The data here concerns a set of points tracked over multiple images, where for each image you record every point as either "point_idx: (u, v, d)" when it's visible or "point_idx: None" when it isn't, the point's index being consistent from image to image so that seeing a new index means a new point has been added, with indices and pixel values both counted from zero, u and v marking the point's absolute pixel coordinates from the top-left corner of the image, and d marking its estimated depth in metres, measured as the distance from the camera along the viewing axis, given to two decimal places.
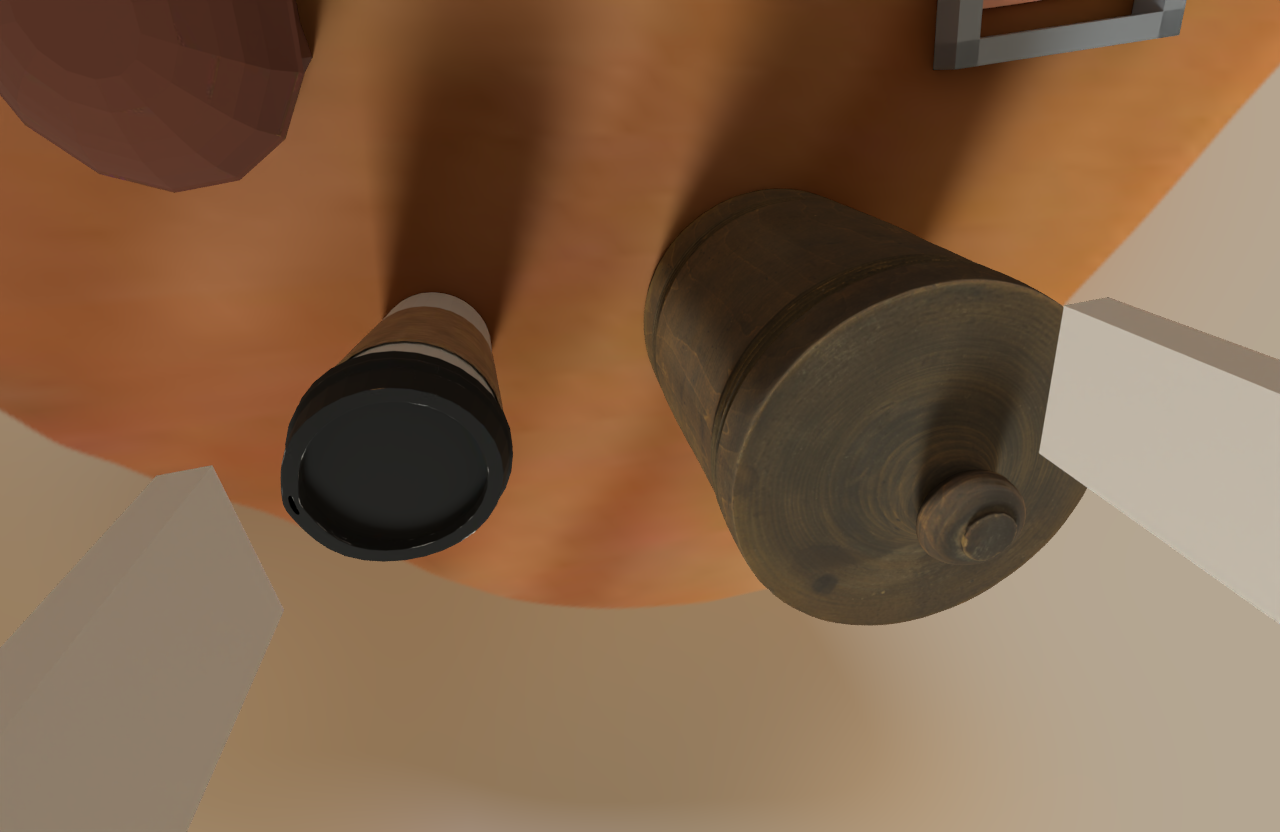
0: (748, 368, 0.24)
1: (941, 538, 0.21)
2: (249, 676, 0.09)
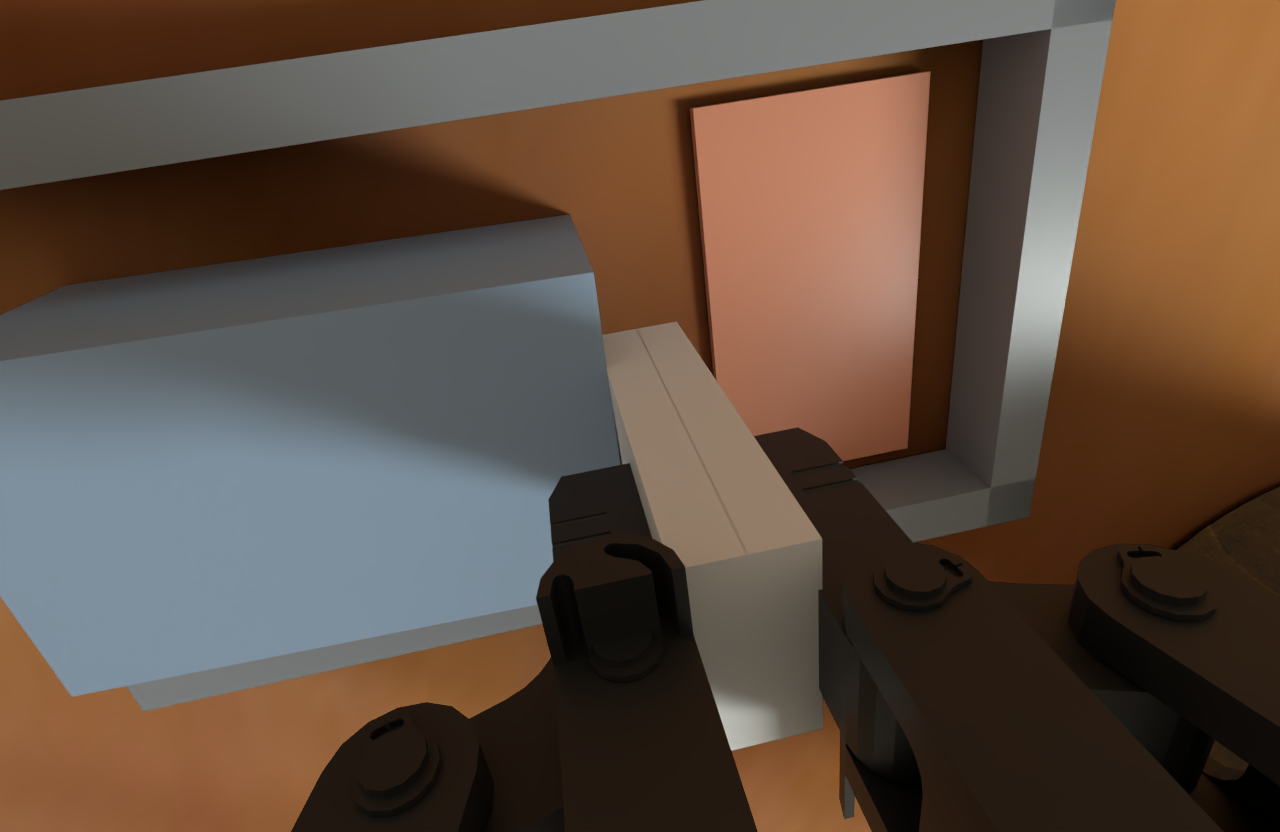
0: None
1: None
2: None
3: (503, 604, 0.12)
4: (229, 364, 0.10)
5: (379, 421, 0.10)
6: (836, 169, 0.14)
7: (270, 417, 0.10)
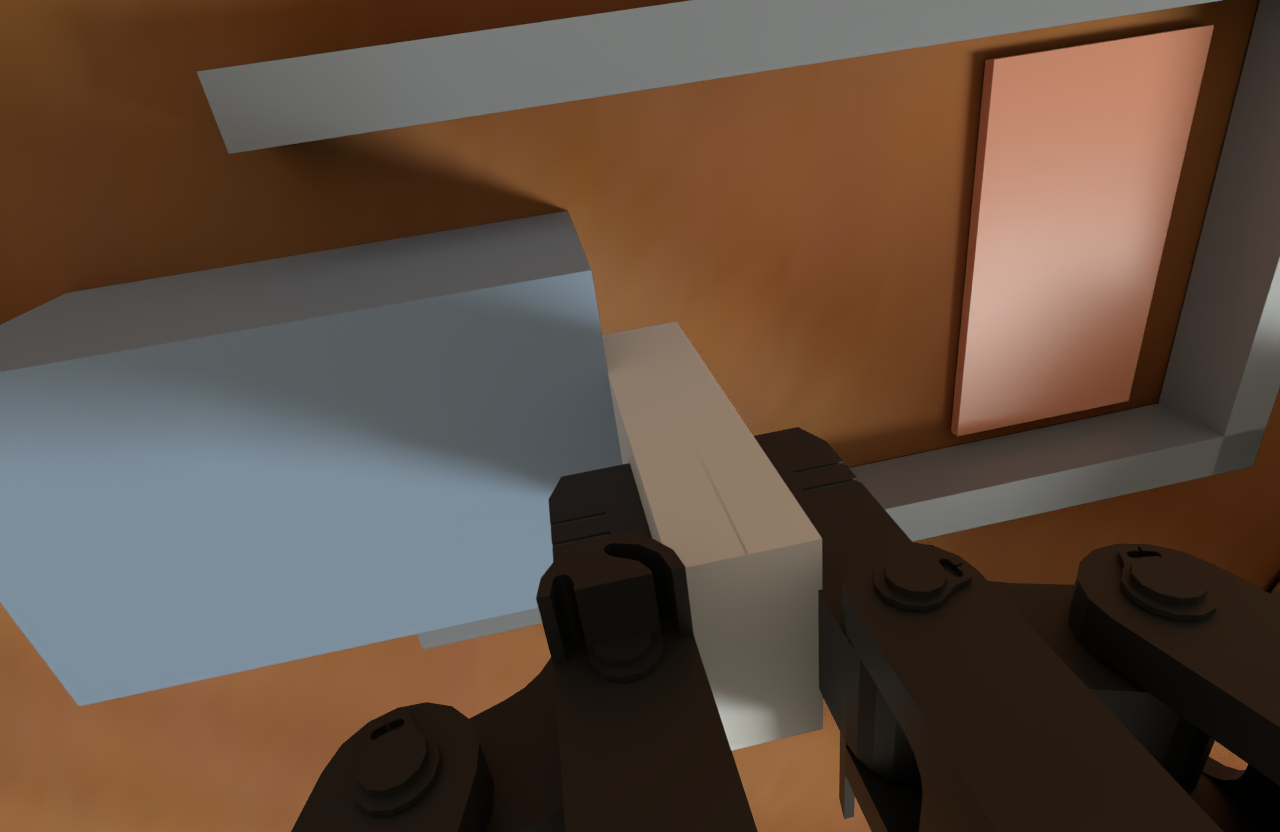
0: None
1: None
2: None
3: (508, 607, 0.12)
4: (226, 372, 0.10)
5: (377, 425, 0.10)
6: (1112, 121, 0.15)
7: (268, 422, 0.10)
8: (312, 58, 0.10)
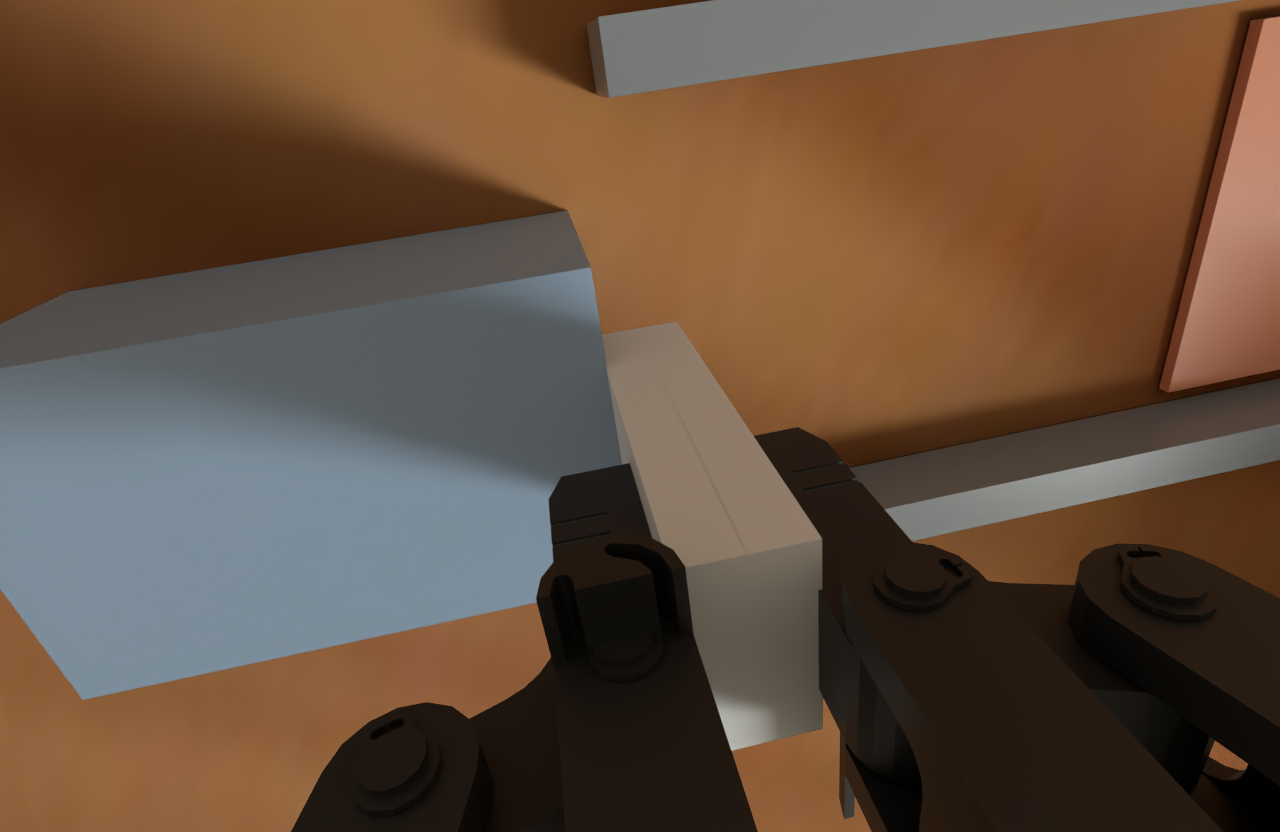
0: None
1: None
2: None
3: (508, 601, 0.12)
4: (230, 368, 0.10)
5: (379, 420, 0.10)
6: None
7: (271, 418, 0.10)
8: (702, 5, 0.11)
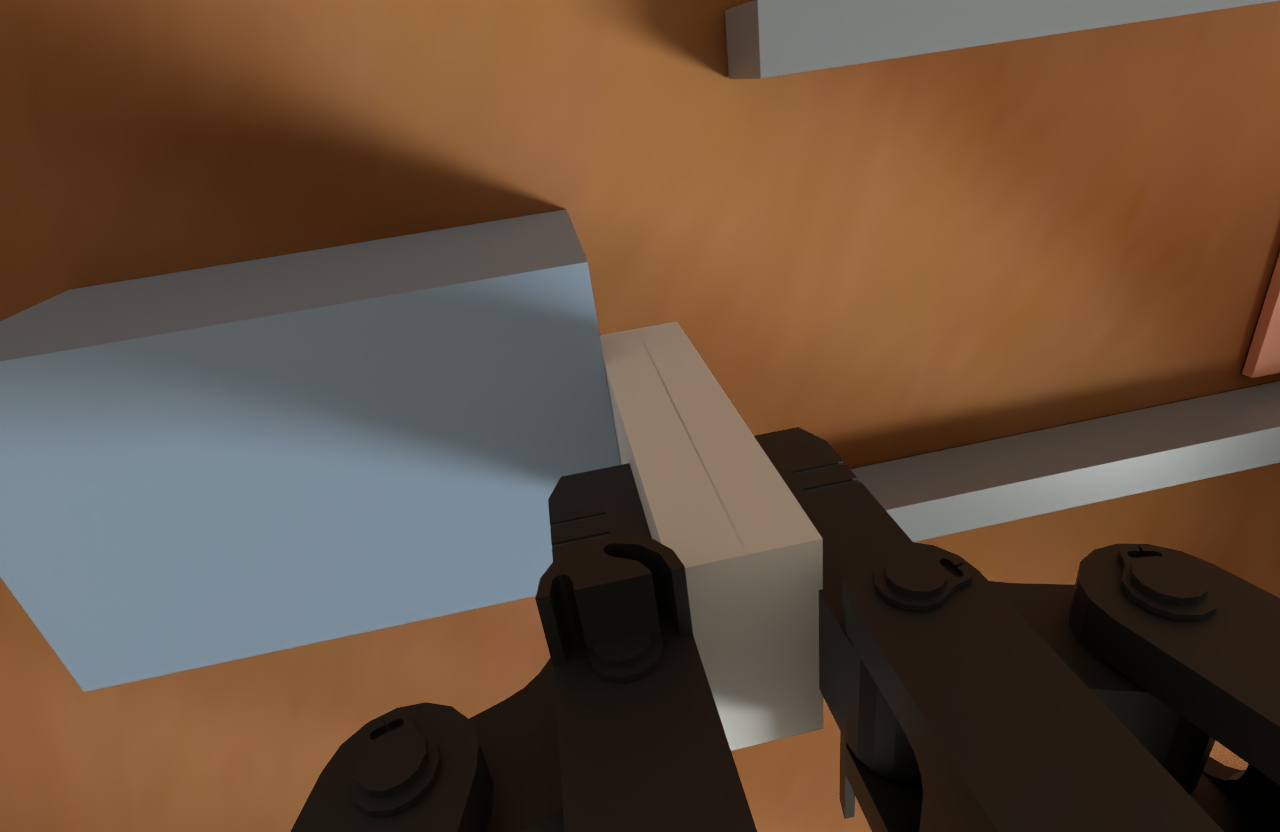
0: None
1: None
2: None
3: (505, 595, 0.12)
4: (231, 360, 0.10)
5: (378, 414, 0.11)
6: None
7: (272, 410, 0.10)
8: None
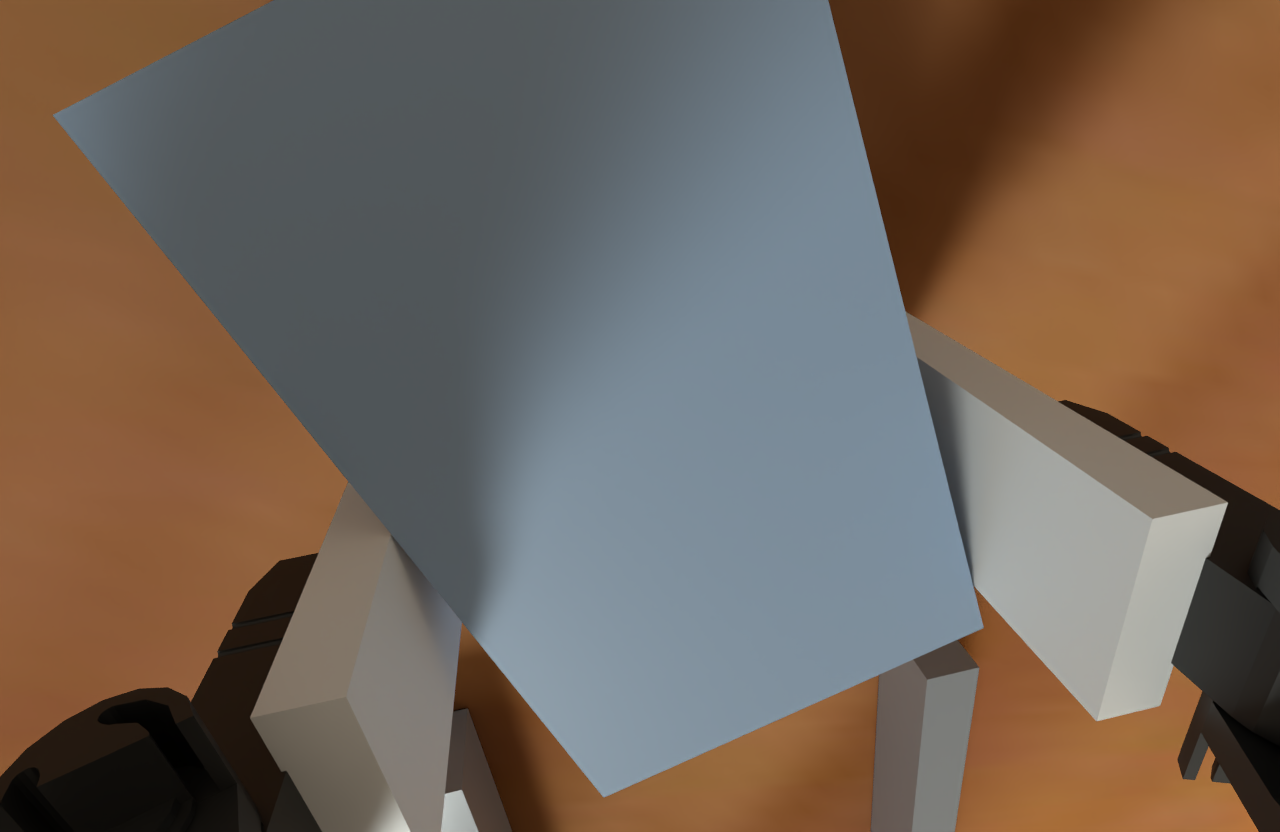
0: None
1: None
2: None
3: (532, 691, 0.09)
4: (855, 323, 0.07)
5: (794, 495, 0.08)
6: None
7: (785, 379, 0.07)
8: (970, 723, 0.15)
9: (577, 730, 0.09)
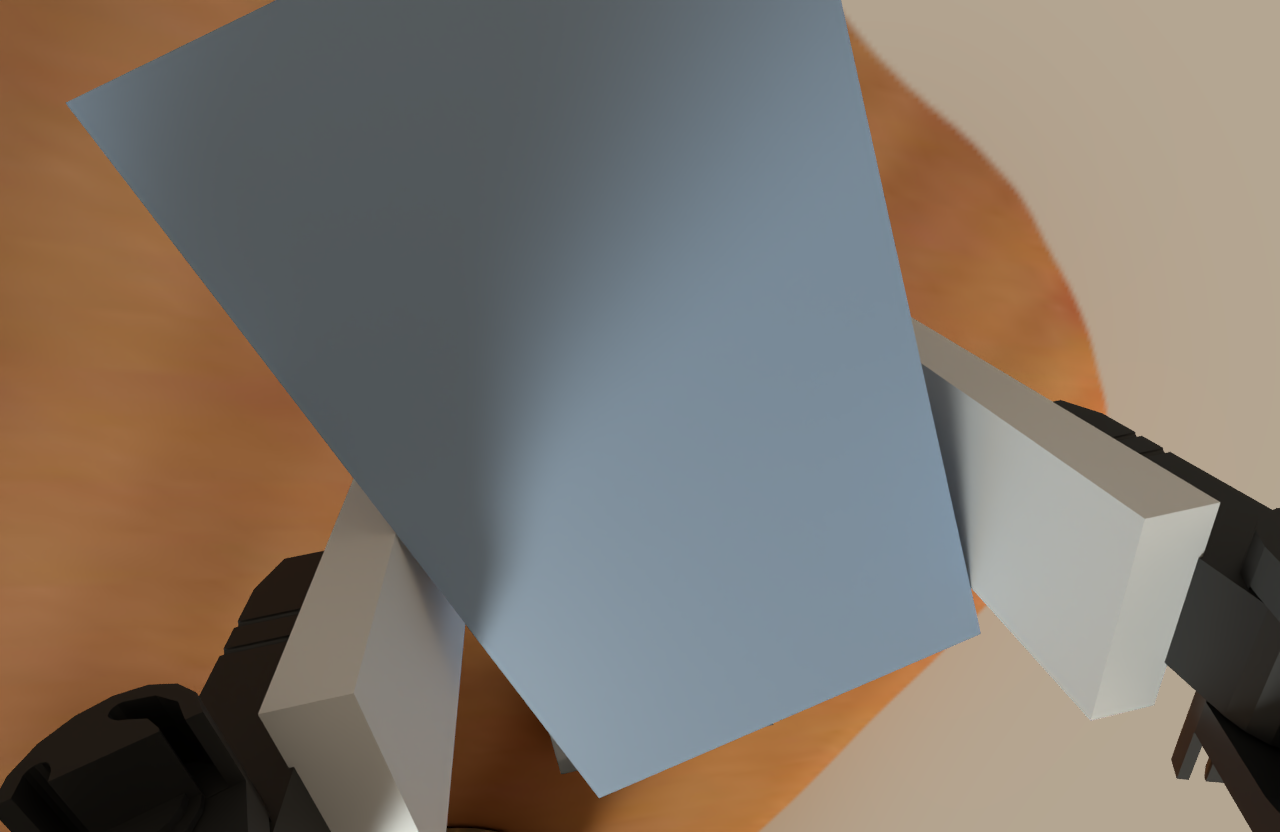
0: None
1: None
2: None
3: (531, 690, 0.09)
4: (860, 328, 0.07)
5: (796, 498, 0.08)
6: None
7: (789, 382, 0.07)
8: None
9: (574, 730, 0.09)
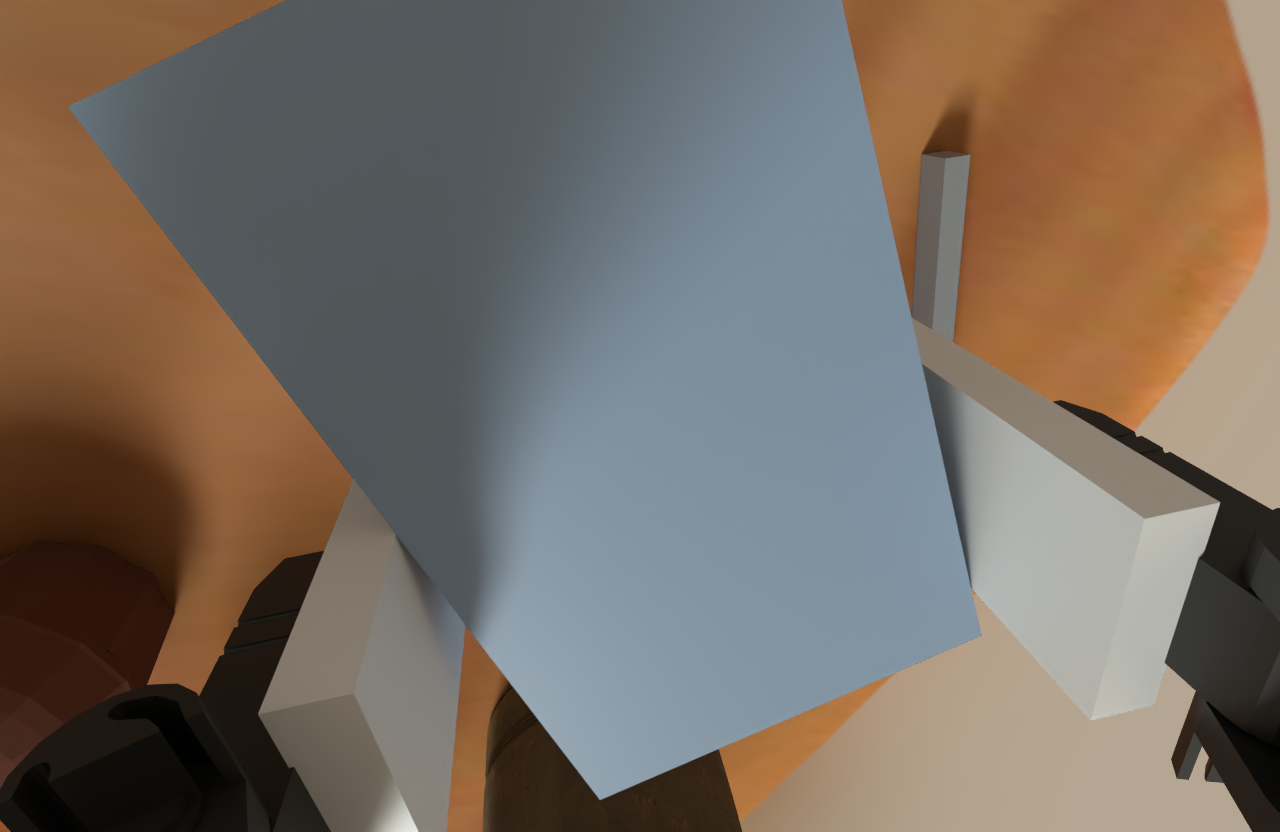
0: None
1: None
2: None
3: (531, 692, 0.09)
4: (861, 331, 0.07)
5: (797, 500, 0.08)
6: None
7: (791, 384, 0.07)
8: (966, 194, 0.31)
9: (575, 732, 0.09)
